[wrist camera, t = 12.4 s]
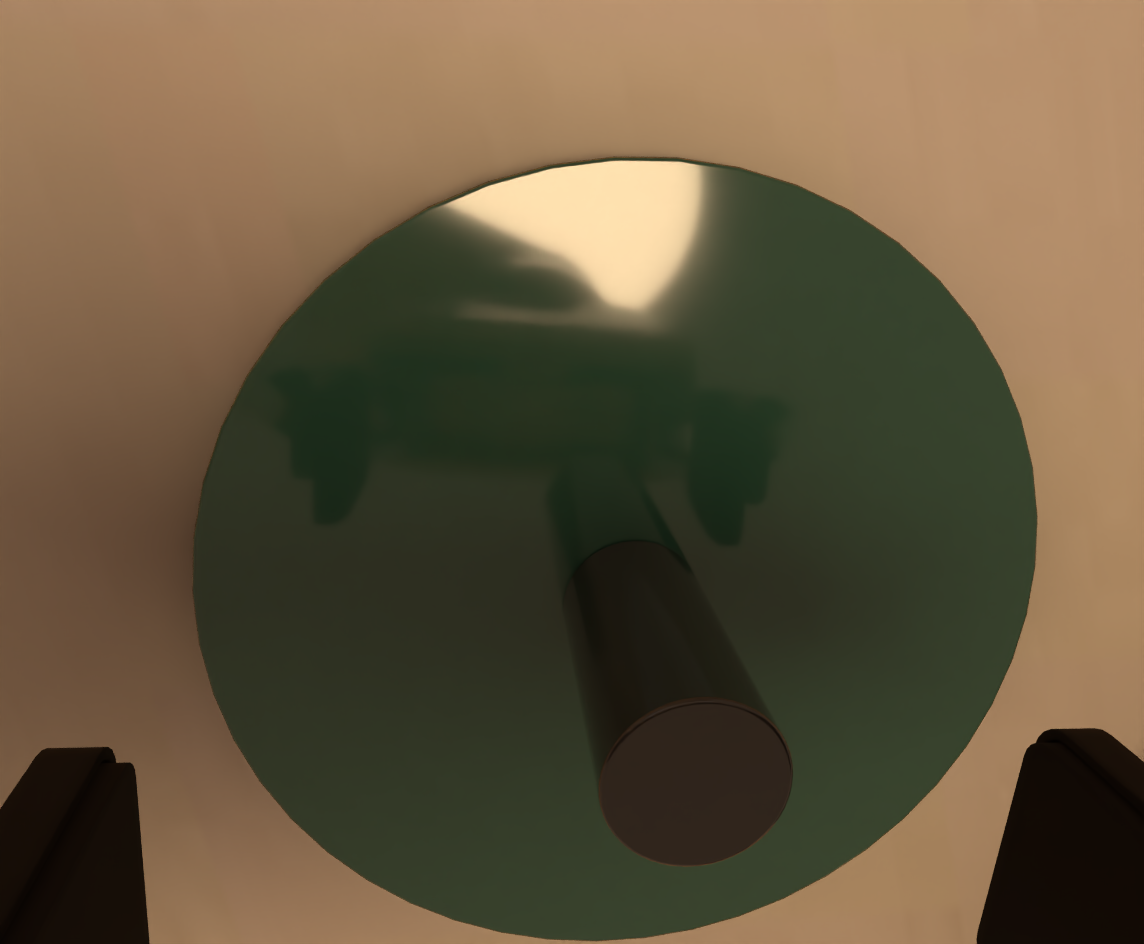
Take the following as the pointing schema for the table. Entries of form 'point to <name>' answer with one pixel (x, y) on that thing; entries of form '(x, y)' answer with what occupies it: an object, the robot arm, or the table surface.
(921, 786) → the pot lid
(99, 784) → the robot arm
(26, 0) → the table surface
